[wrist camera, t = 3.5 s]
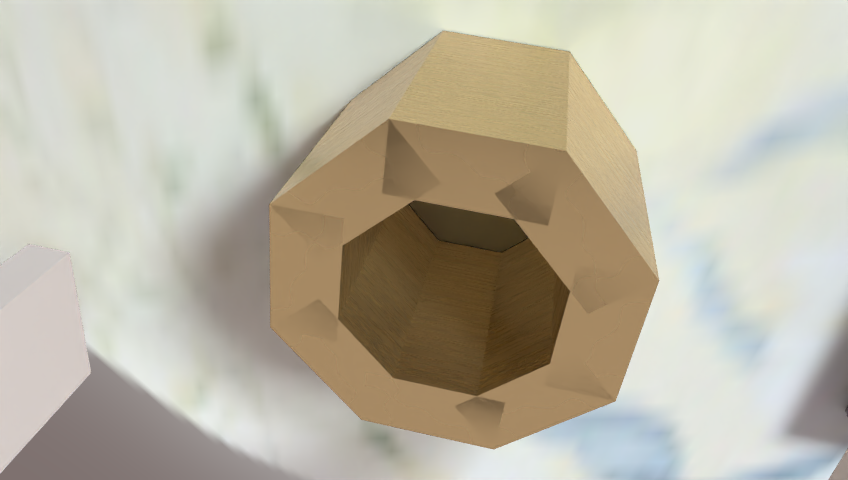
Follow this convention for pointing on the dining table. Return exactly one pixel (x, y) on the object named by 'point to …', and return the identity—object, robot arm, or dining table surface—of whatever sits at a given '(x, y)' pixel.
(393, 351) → the ring
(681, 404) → the dining table surface
